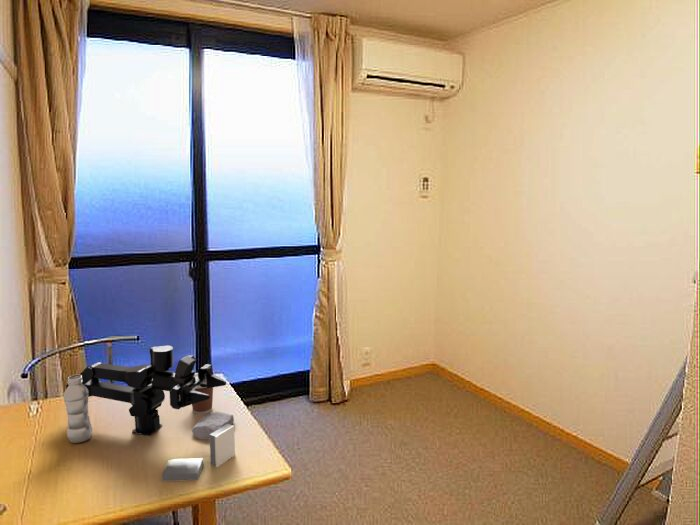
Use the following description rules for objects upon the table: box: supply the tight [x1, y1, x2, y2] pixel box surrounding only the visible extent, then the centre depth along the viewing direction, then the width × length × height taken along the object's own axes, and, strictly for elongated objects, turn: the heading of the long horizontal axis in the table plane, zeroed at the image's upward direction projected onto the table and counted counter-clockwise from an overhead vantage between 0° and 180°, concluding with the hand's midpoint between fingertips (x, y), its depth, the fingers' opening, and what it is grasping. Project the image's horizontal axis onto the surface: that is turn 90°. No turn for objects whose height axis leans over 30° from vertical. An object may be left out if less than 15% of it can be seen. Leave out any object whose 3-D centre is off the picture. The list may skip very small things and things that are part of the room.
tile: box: [209, 424, 236, 468], centre depth 140 cm, size 2×7×9 cm, turn 150°
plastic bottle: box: [62, 374, 93, 444], centre depth 148 cm, size 6×7×20 cm
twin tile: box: [161, 457, 204, 482], centre depth 134 cm, size 9×7×2 cm
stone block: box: [191, 411, 235, 440], centre depth 157 cm, size 12×5×10 cm
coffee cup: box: [191, 372, 214, 415], centre depth 170 cm, size 9×9×12 cm
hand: (217, 390), depth 147 cm, fingers open, 9 cm apart
